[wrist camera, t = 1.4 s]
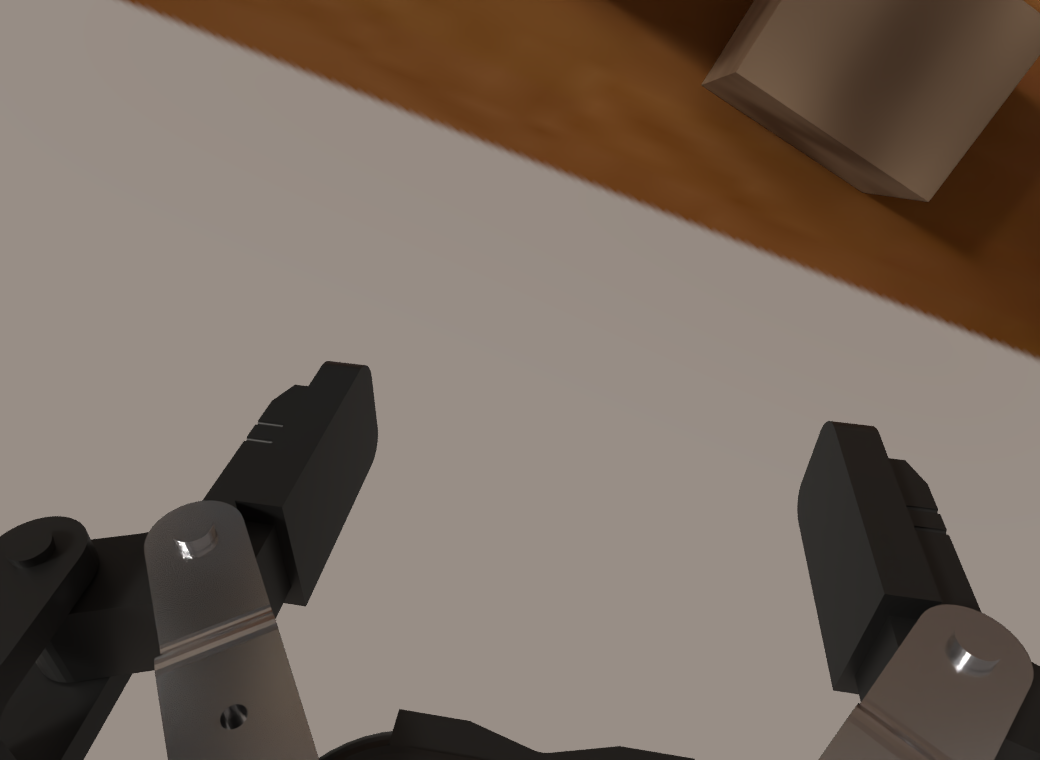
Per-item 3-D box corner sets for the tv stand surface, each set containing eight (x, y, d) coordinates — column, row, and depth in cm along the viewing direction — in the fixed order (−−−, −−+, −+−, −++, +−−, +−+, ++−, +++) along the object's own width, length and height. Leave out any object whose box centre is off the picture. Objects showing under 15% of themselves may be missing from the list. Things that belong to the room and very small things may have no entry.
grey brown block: (700, 85, 32) (735, 72, 26) (798, -71, 30) (858, -122, 24) (861, 192, 33) (928, 201, 28) (964, 49, 31) (1059, 28, 26)
